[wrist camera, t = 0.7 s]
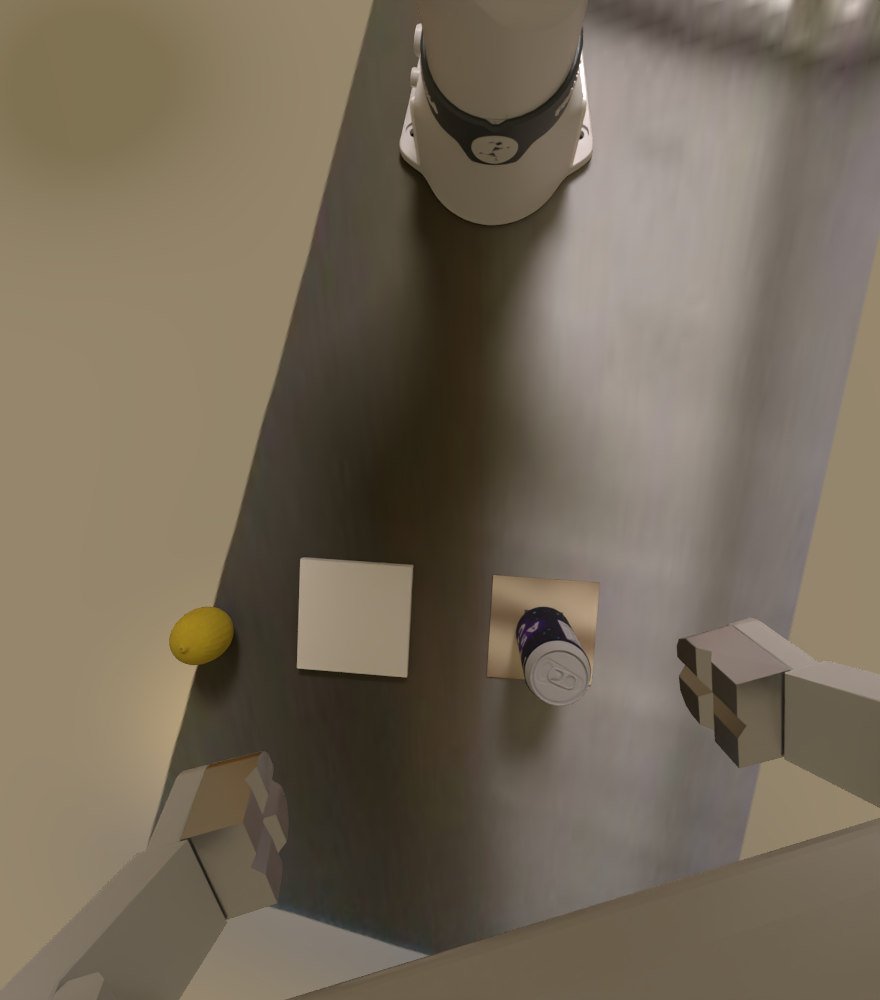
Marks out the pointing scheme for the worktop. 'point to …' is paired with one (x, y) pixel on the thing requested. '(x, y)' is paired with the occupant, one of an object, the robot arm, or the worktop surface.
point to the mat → (354, 616)
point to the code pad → (529, 593)
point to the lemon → (201, 635)
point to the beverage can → (552, 657)
